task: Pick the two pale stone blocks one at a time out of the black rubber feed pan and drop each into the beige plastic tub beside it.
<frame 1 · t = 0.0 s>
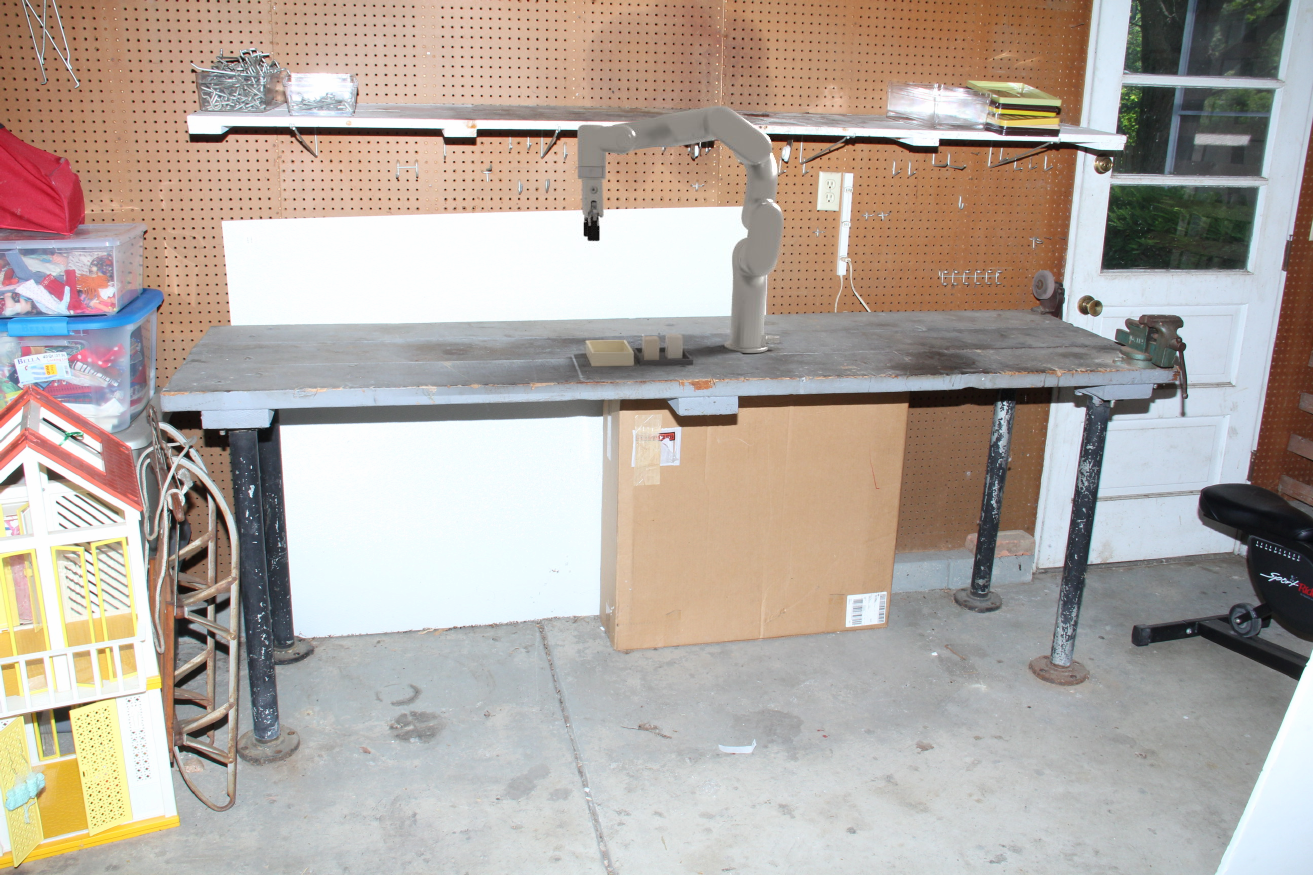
hand: (591, 238, 265), 31 cm above the table, fingers open, 9 cm apart
stone b: (650, 359, 264), resting on feed pan
feed pan: (662, 360, 266), on the table
tub: (609, 360, 264), on the table
stone a: (673, 356, 268), resting on feed pan
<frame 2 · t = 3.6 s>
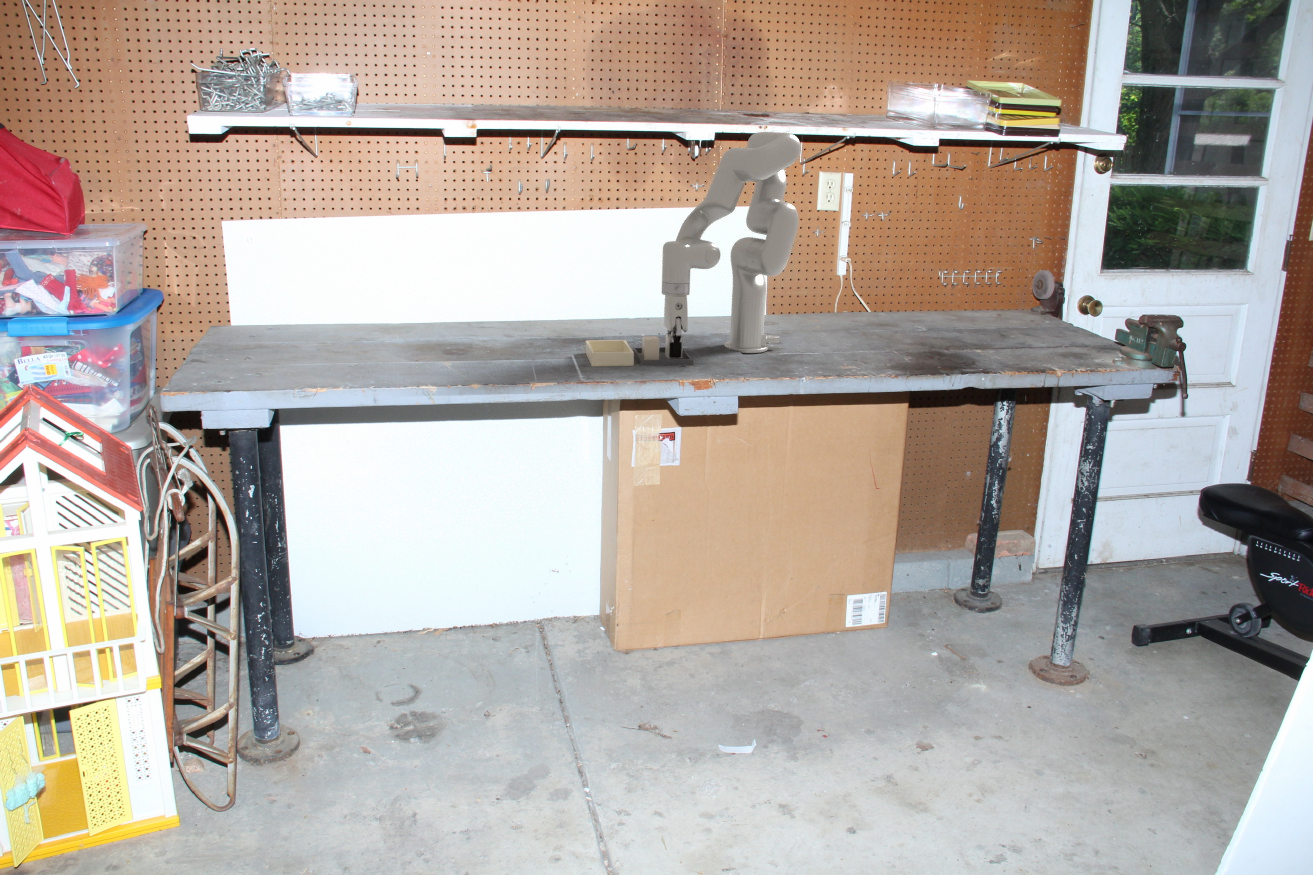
hand: (673, 354, 268), 1 cm above the table, fingers closed on stone a, 4 cm apart
stone a: (673, 356, 268), point 1 cm above the table, touching feed pan, gripper
everything else where it was.
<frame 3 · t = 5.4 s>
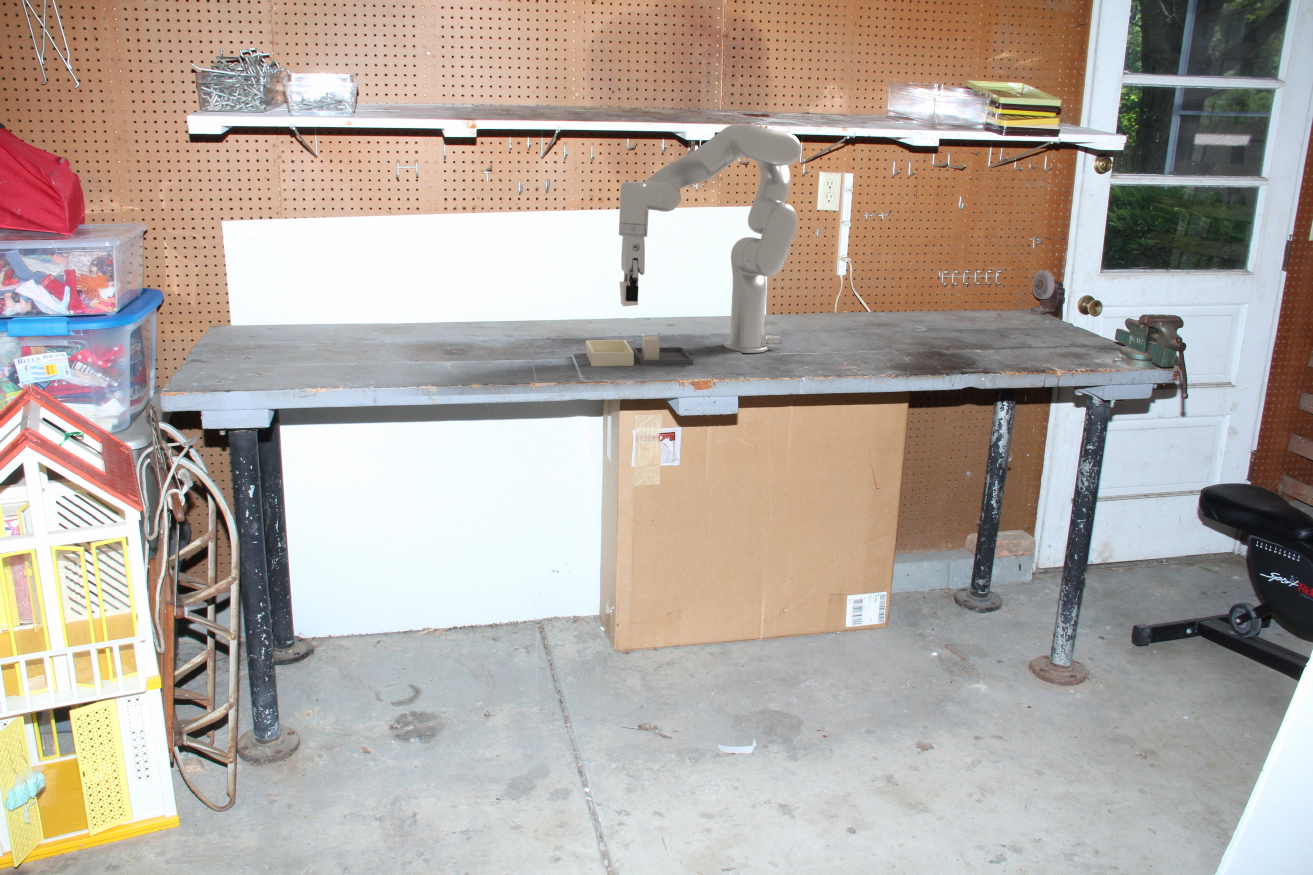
hand: (630, 298, 262), 16 cm above the table, fingers closed on stone a, 4 cm apart
stone a: (629, 304, 262), point 15 cm above the table, tilted 5°, touching gripper
everything else where it was.
when the fingers open (6 cm above the table, at t = 7.1 s): stone a drops 4 cm, resting on tub.
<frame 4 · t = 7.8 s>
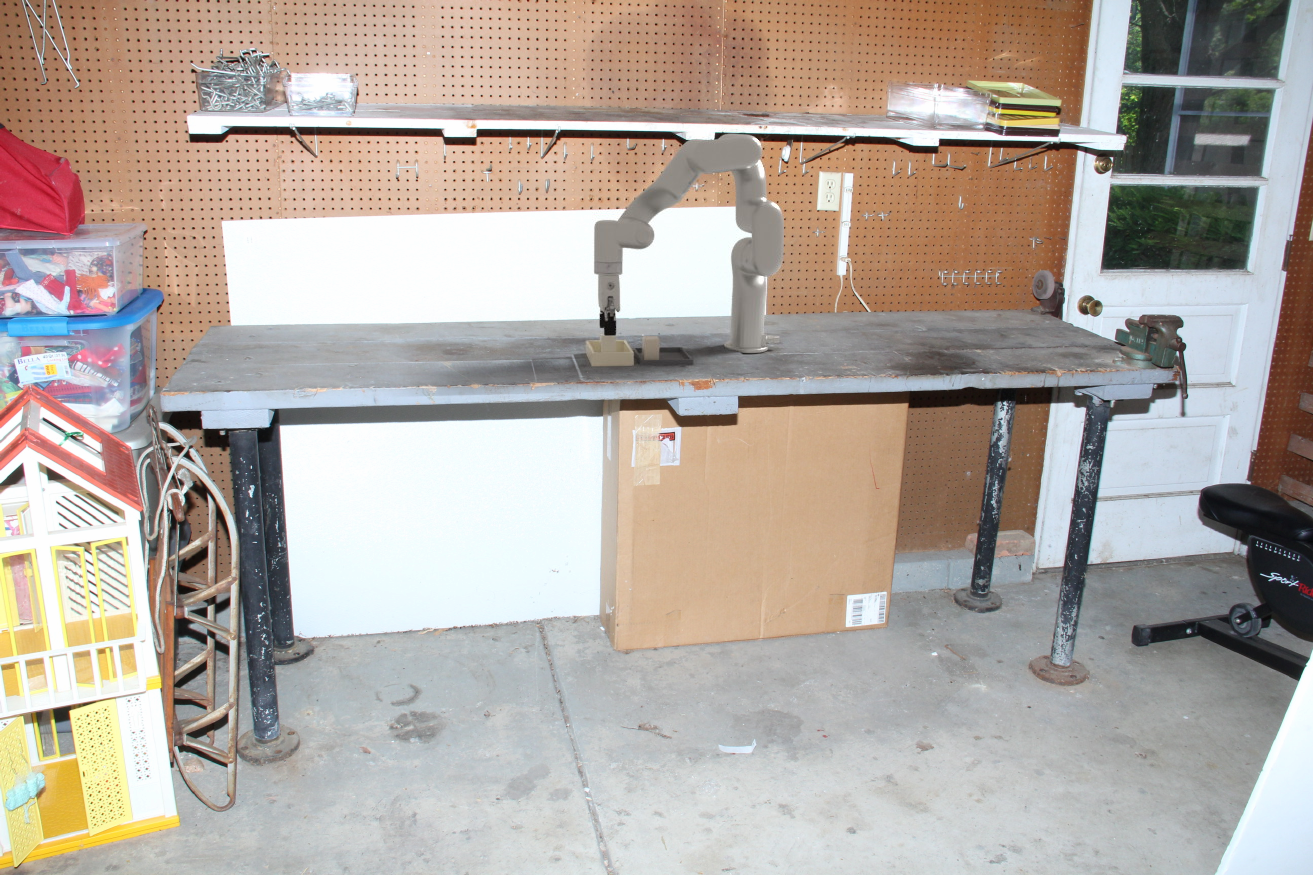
hand: (607, 331, 265), 7 cm above the table, fingers open, 9 cm apart
stone a: (607, 356, 267), resting on tub
everything else where it was.
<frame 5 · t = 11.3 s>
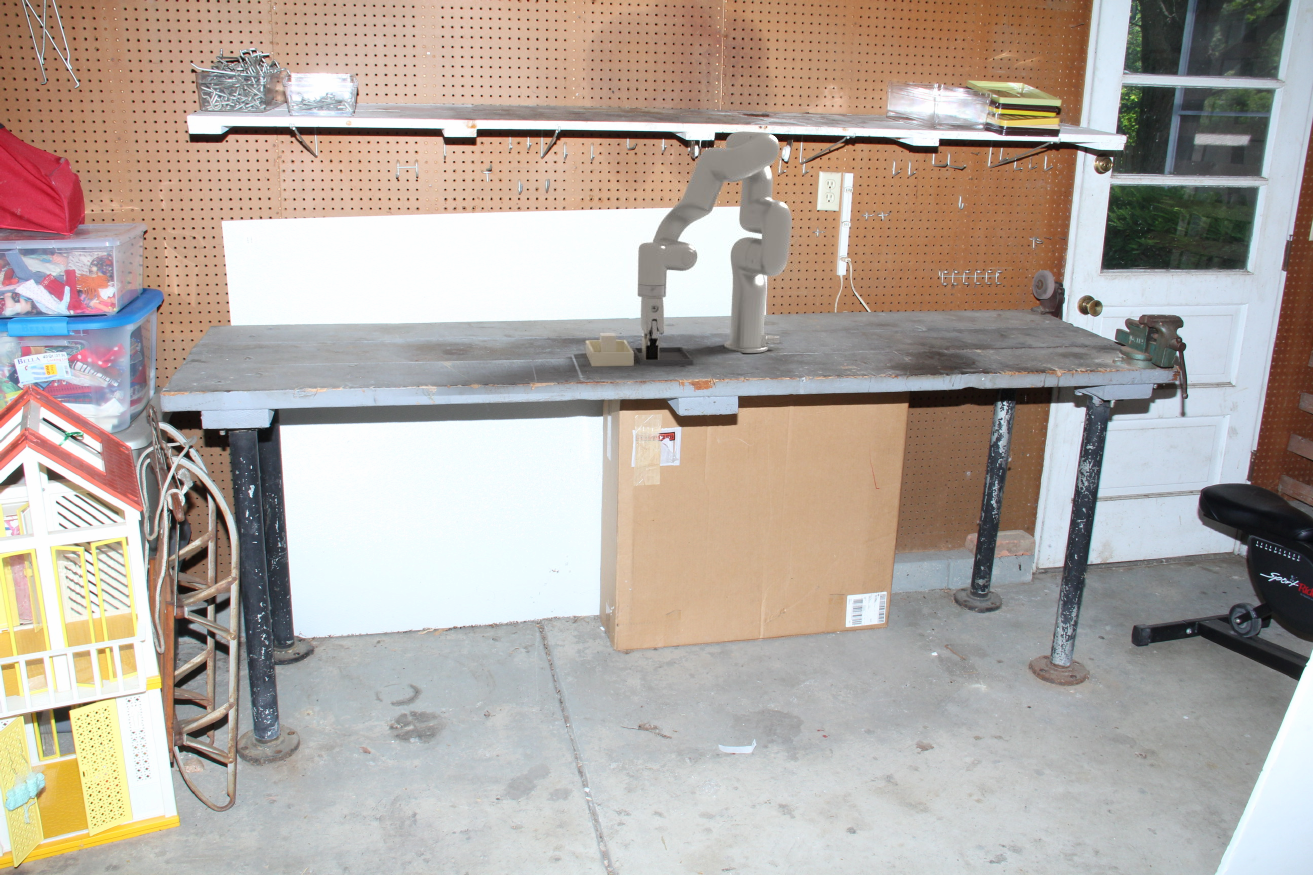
hand: (650, 357, 264), 1 cm above the table, fingers closed on stone b, 4 cm apart
stone b: (650, 359, 264), point 1 cm above the table, touching feed pan, gripper
everything else where it was.
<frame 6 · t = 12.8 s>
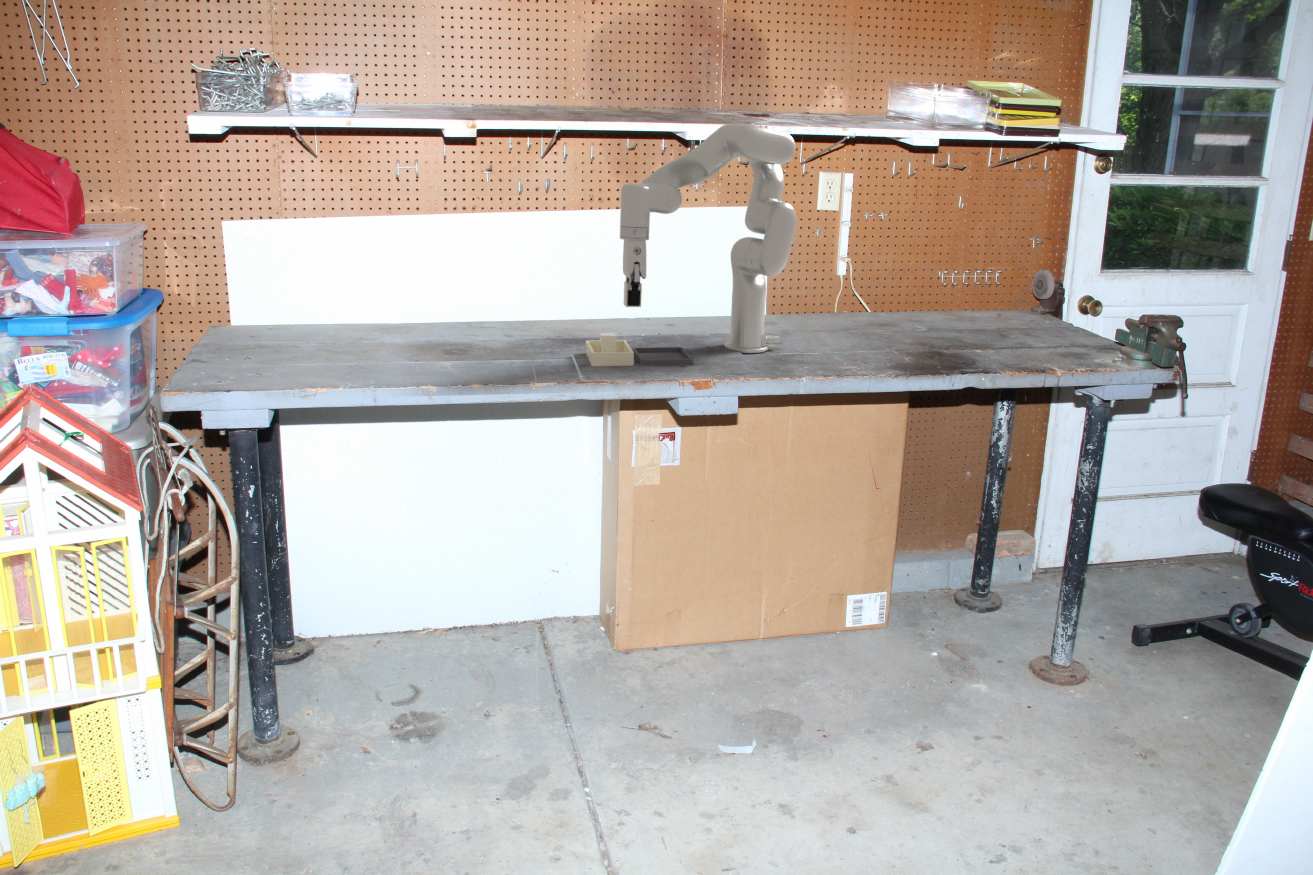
hand: (632, 303, 257), 16 cm above the table, fingers closed on stone b, 4 cm apart
stone b: (632, 305, 257), point 15 cm above the table, touching gripper
everything else where it was.
when the fingers open (6 cm above the table, at t = 14.4 s): stone b drops 5 cm, resting on tub.
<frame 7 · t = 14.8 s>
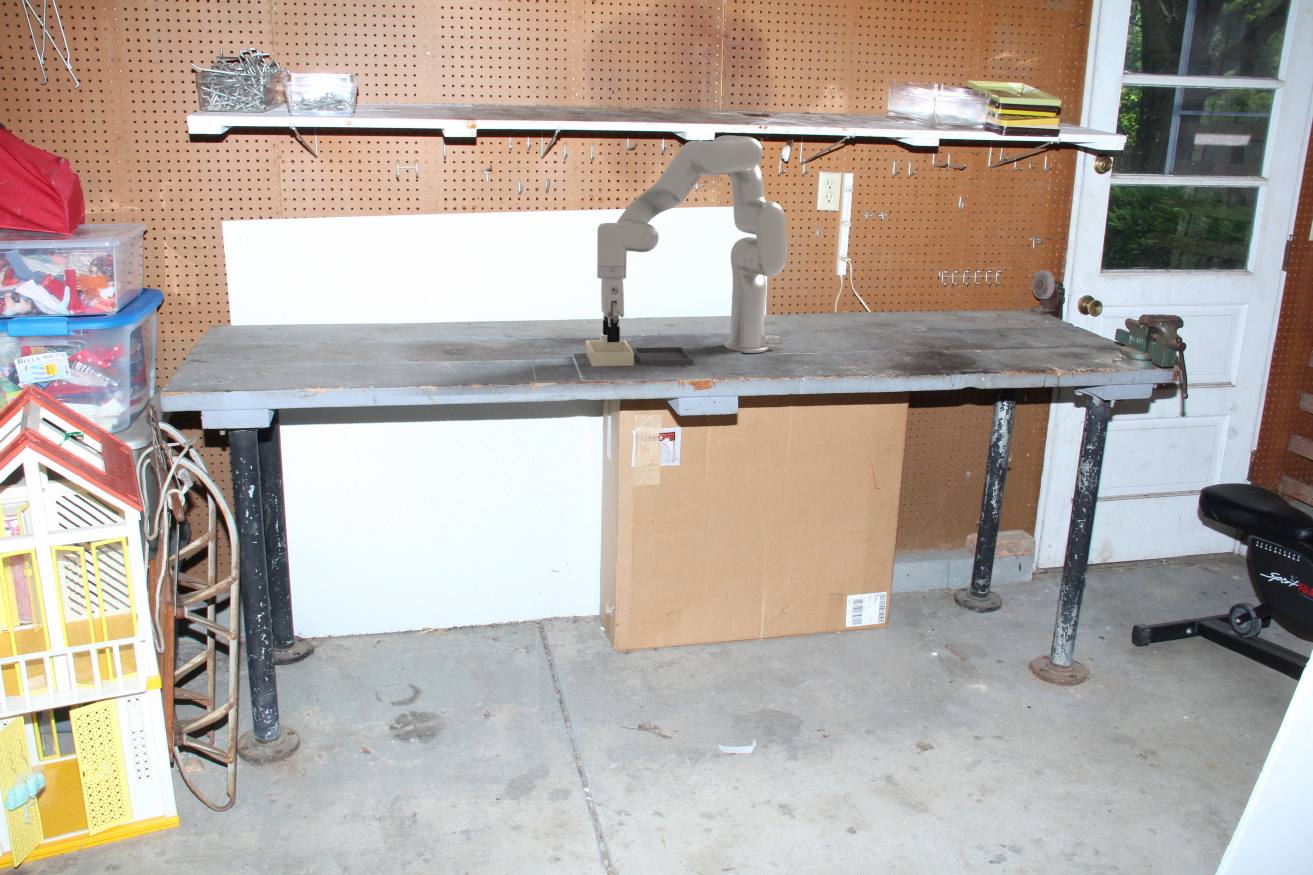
hand: (611, 338, 258), 7 cm above the table, fingers open, 8 cm apart
stone b: (611, 362, 260), resting on tub
everything else where it was.
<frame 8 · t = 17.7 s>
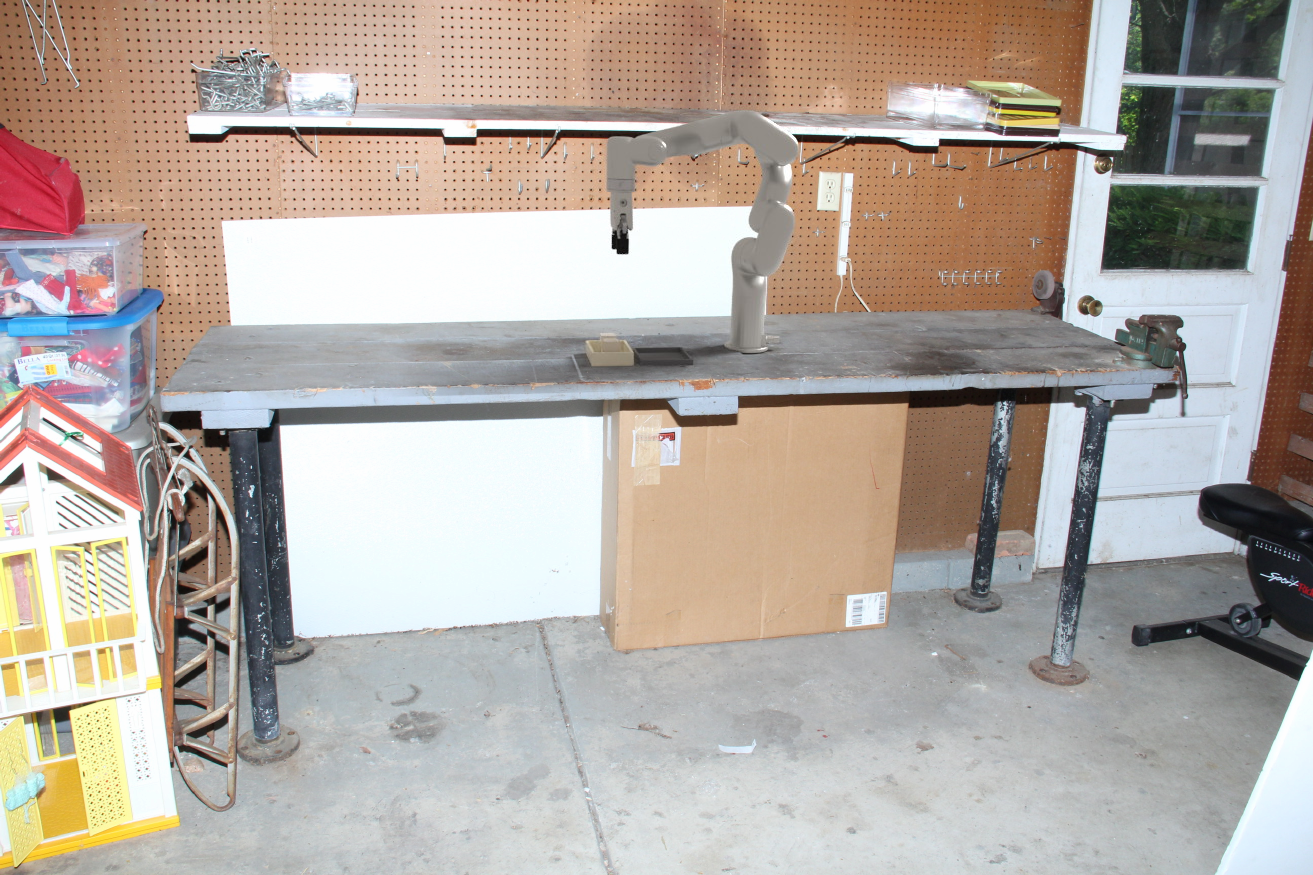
hand: (619, 251, 262), 28 cm above the table, fingers open, 9 cm apart
nothing on the table moved.
at the end: stone a inside the target area on the tub (3.5 cm from its centre), point 0.5 cm above the tub's base; stone b inside the target area on the tub (3.5 cm from its centre), point 0.5 cm above the tub's base; the gripper is holding nothing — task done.
